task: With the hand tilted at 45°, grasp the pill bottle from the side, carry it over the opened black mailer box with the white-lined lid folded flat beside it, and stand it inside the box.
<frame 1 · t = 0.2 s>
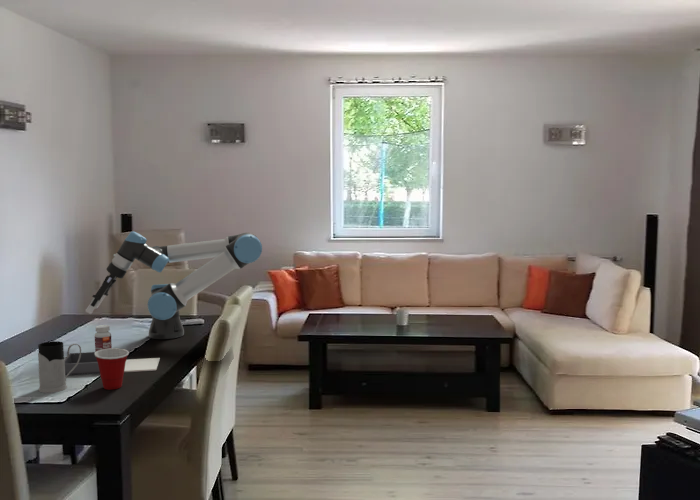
hand: (91, 309, 281), 15 cm above the table, tool tilted 35°, fingers open, 13 cm apart
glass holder: (61, 387, 227), on the table
plastic cup: (113, 387, 226), on the table
mailer box: (89, 368, 250), on the table
pill bottle: (103, 355, 269), on the table
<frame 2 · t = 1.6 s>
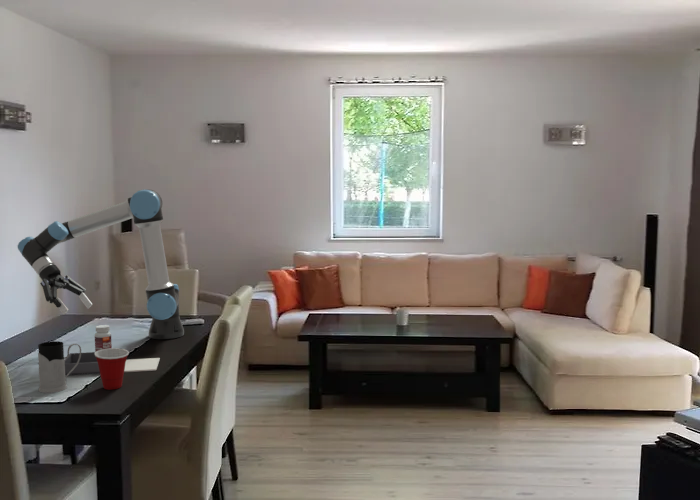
hand: (78, 309, 271), 17 cm above the table, tool tilted 45°, fingers open, 13 cm apart
nothing on the table moved.
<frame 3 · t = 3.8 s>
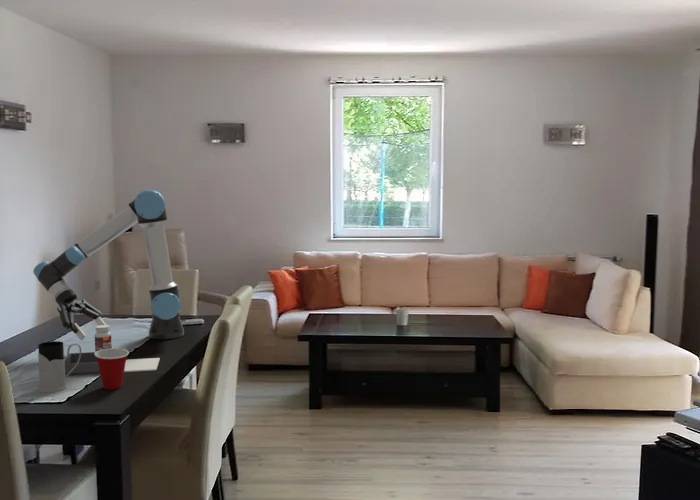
hand: (95, 334, 269), 8 cm above the table, tool tilted 45°, fingers open, 13 cm apart
nothing on the table moved.
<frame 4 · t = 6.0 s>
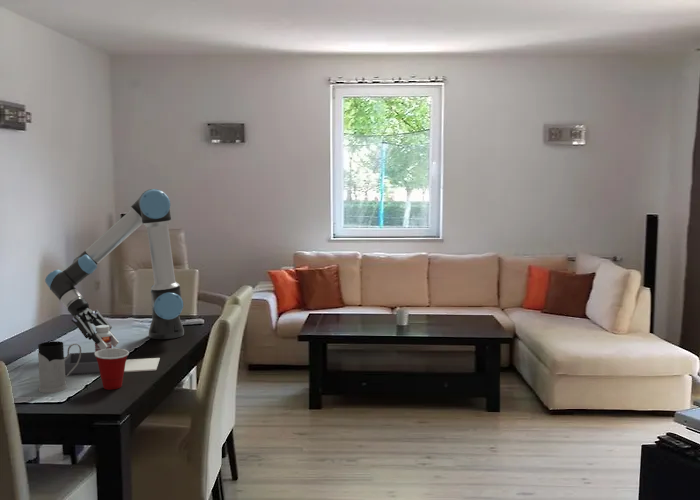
hand: (111, 346, 268), 3 cm above the table, tool tilted 45°, fingers closed on pill bottle, 6 cm apart
pill bottle: (103, 355, 269), on the table, touching gripper
everything else where it was.
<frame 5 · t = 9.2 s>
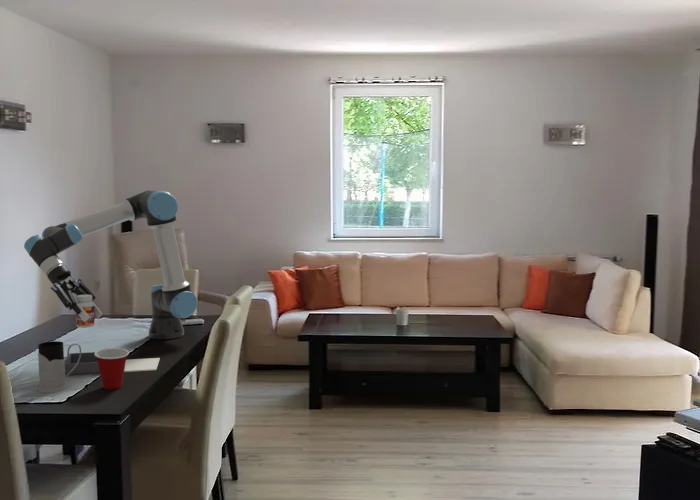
hand: (93, 317, 247), 19 cm above the table, tool tilted 45°, fingers closed on pill bottle, 6 cm apart
pill bottle: (85, 326, 249), point 15 cm above the table, touching gripper
everything else where it was.
when the fingers open (6 cm above the table, at t = 12.7 s): pill bottle drops 2 cm, resting on mailer box.
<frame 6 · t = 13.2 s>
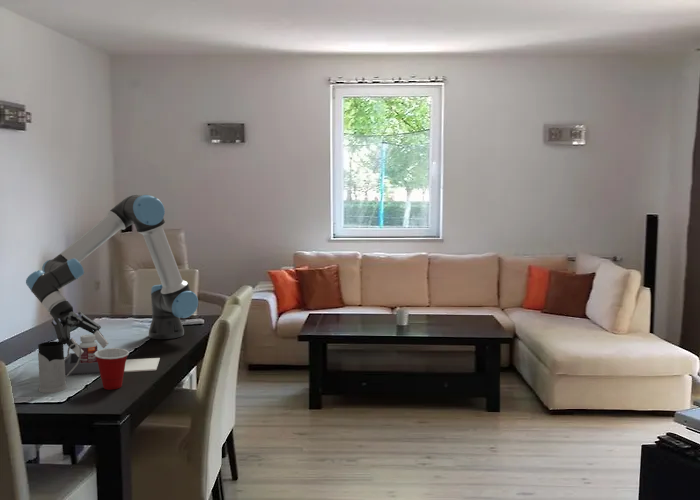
hand: (93, 350, 248), 7 cm above the table, tool tilted 45°, fingers open, 13 cm apart
pill bottle: (89, 366, 250), resting on mailer box
everything else where it was.
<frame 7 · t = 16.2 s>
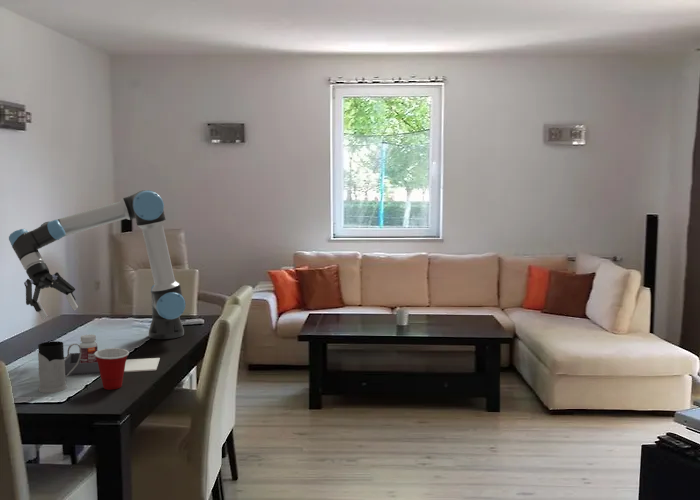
hand: (61, 313, 260), 18 cm above the table, tool tilted 35°, fingers open, 13 cm apart
nothing on the table moved.
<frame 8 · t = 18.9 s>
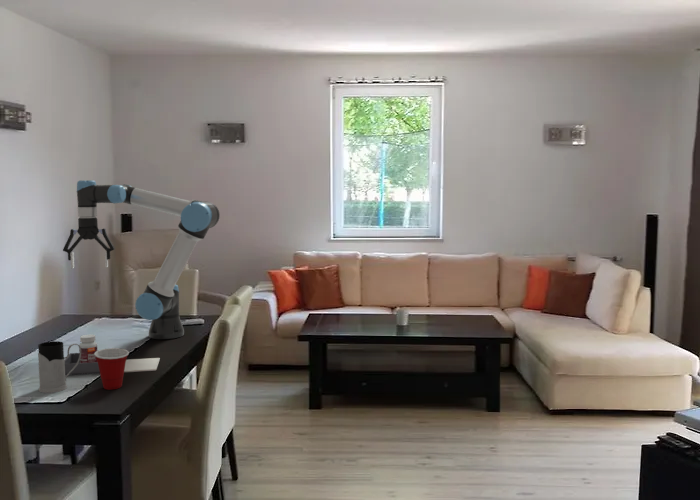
hand: (89, 267, 288), 32 cm above the table, tool pointing down, fingers open, 13 cm apart
nothing on the table moved.
at the end: pill bottle inside the target area on the mailer box (0.3 cm from its centre), point 0.4 cm above the mailer box's base; pill bottle tilted 0°; the gripper is holding nothing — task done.
